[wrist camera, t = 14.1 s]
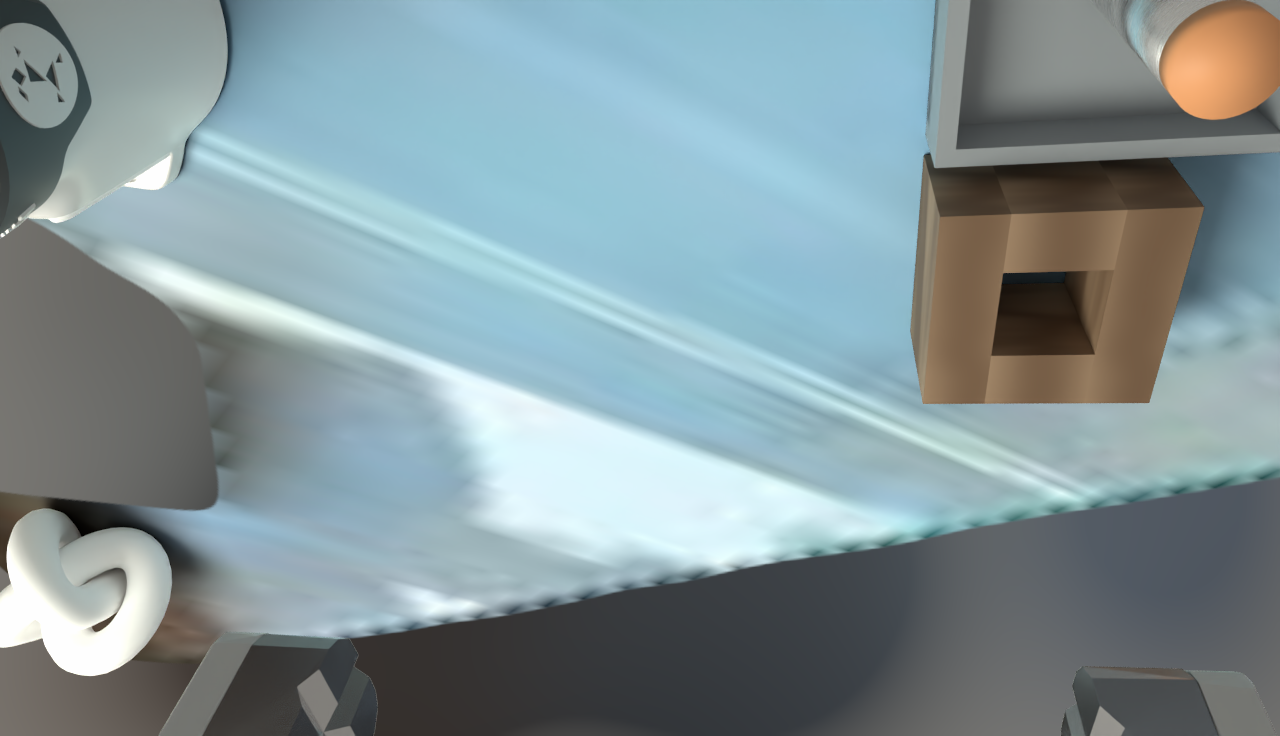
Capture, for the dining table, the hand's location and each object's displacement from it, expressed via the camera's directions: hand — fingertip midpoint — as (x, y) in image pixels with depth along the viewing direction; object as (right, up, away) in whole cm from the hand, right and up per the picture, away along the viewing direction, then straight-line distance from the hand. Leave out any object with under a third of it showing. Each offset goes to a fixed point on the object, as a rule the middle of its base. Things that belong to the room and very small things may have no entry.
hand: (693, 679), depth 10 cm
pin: (+18, +19, +25) cm, 37 cm away
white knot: (-41, -10, +60) cm, 73 cm away
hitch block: (+18, +10, +34) cm, 40 cm away
